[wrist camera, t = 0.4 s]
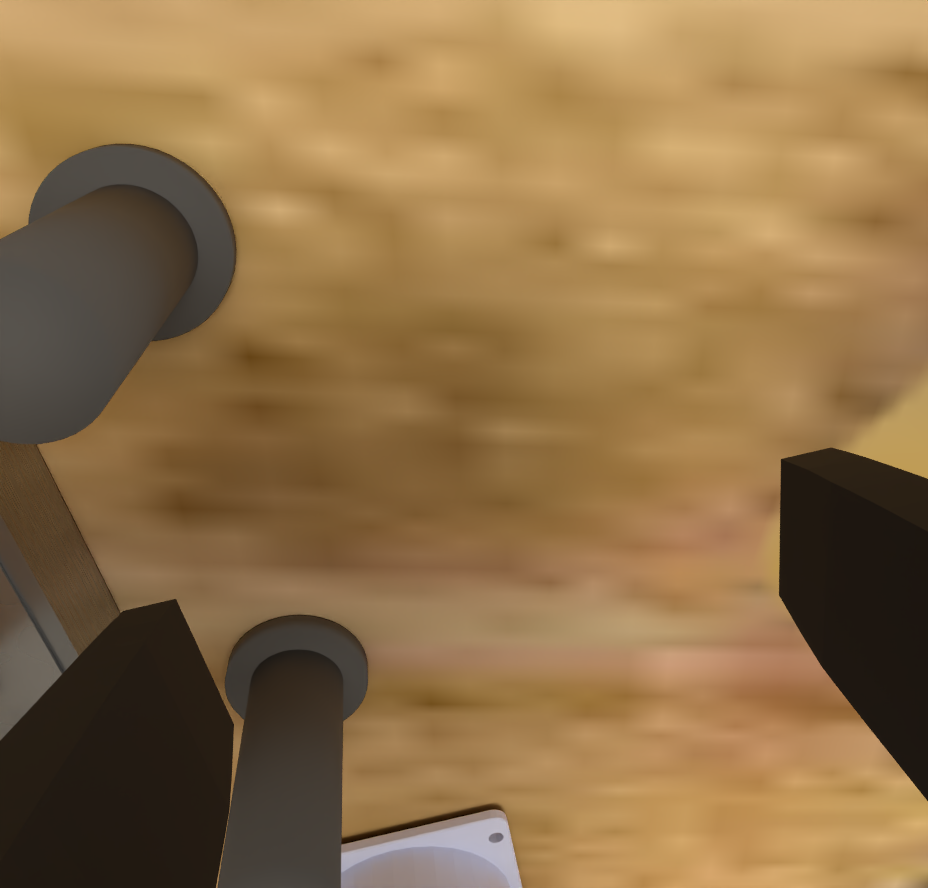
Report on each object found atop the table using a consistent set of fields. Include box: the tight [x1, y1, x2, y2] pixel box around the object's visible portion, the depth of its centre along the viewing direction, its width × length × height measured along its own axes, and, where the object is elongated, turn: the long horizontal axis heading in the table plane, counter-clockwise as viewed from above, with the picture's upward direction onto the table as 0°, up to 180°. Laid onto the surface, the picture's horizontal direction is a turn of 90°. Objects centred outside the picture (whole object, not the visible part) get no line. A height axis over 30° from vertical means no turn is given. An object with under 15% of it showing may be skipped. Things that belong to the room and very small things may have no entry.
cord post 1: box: [0, 144, 236, 444], centre depth 13 cm, size 4×4×7 cm
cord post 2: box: [218, 615, 368, 888], centre depth 19 cm, size 4×4×7 cm
